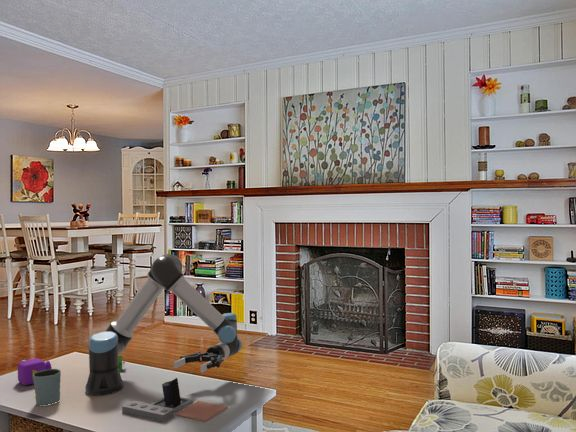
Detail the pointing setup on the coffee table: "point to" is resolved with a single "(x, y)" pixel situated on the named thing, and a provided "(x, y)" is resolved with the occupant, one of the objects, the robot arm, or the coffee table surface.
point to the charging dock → (153, 409)
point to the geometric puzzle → (120, 362)
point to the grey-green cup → (47, 386)
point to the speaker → (171, 393)
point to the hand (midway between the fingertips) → (187, 367)
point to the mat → (201, 411)
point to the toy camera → (31, 369)
